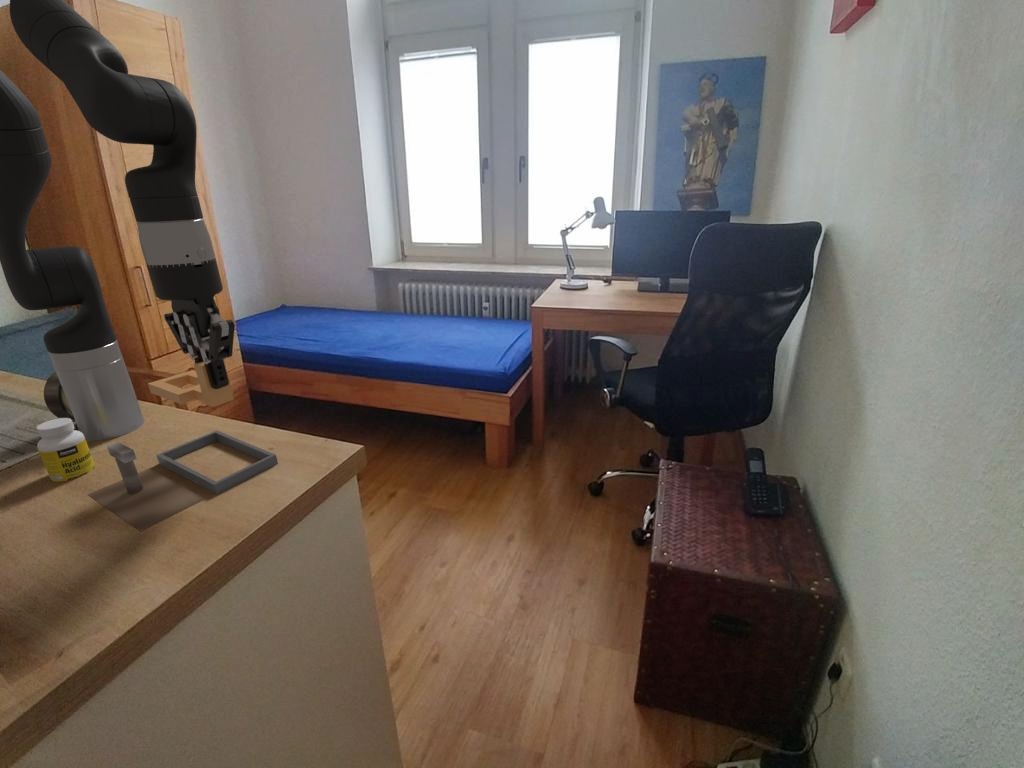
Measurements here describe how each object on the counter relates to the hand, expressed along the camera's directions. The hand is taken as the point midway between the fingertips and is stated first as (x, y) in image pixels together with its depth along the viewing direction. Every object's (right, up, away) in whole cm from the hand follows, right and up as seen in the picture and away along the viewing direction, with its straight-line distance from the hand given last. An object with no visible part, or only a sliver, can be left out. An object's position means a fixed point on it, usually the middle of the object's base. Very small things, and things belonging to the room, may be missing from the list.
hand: (215, 384), depth 69 cm
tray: (-5, -14, +9) cm, 17 cm away
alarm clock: (-39, -8, +27) cm, 48 cm away
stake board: (-10, -17, +1) cm, 20 cm away
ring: (-5, -1, +4) cm, 7 cm away
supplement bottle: (-26, -15, +8) cm, 31 cm away
